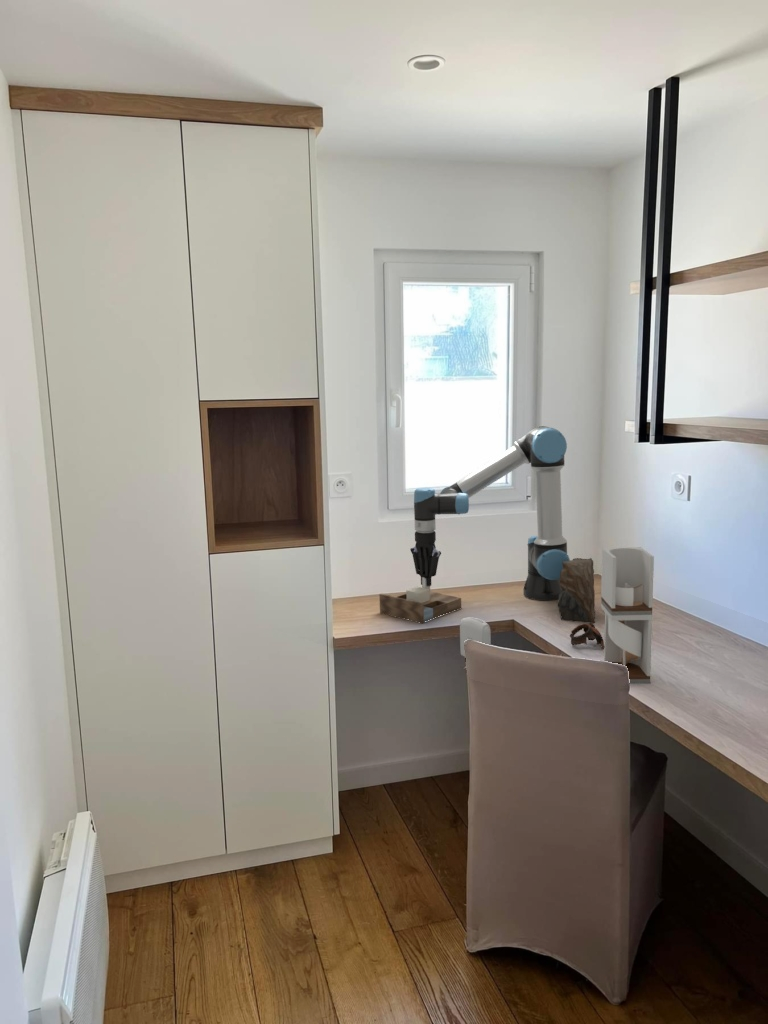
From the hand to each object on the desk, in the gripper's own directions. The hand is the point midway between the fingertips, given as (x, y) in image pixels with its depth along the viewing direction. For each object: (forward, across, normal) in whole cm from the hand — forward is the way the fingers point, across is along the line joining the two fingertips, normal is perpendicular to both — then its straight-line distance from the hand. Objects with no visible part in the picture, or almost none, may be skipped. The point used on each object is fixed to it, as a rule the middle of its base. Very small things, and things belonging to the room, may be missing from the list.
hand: (426, 594), depth 277 cm
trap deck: (+5, 0, -4) cm, 6 cm away
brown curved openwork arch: (+6, +65, +1) cm, 65 cm away
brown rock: (+5, +49, +24) cm, 55 cm away
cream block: (+1, 0, -5) cm, 5 cm away
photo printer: (+6, +44, -29) cm, 53 cm away
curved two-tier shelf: (+5, +84, -14) cm, 86 cm away
